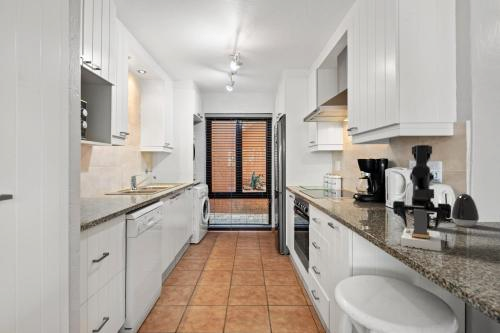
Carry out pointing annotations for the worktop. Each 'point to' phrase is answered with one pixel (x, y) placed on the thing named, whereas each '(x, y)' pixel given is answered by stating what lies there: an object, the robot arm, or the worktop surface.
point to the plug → (420, 224)
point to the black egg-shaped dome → (465, 211)
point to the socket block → (421, 240)
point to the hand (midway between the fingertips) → (420, 227)
